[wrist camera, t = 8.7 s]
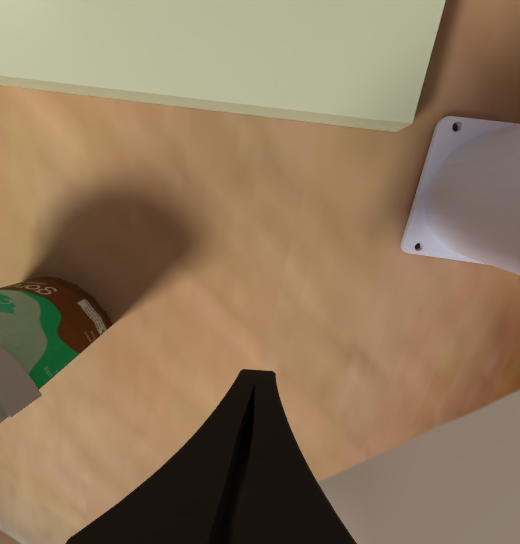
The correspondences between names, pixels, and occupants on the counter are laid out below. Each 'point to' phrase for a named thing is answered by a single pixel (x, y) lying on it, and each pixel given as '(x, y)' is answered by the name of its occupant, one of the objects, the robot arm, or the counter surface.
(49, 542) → the counter surface
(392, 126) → the board
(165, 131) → the counter surface
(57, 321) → the food container
